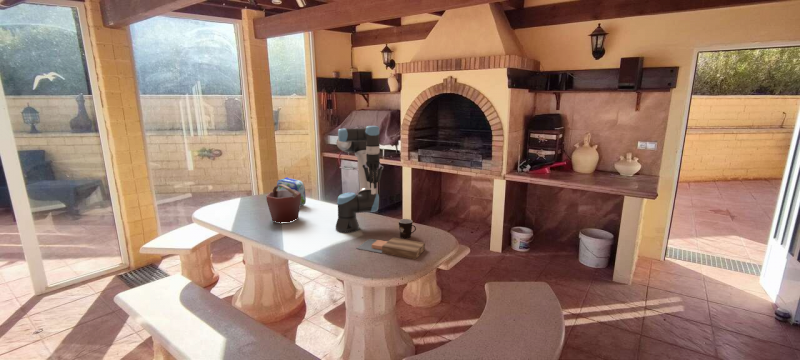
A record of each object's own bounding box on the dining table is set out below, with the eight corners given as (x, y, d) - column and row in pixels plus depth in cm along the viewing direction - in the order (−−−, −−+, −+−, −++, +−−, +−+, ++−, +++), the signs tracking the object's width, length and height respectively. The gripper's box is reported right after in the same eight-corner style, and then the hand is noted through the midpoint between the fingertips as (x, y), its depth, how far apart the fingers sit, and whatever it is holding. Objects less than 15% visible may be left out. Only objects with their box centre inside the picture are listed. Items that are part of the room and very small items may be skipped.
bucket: (306, 221, 263) (304, 186, 258) (273, 227, 251) (271, 190, 245) (294, 212, 283) (292, 179, 277) (263, 218, 271) (260, 183, 265)
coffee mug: (396, 235, 239) (396, 219, 236) (408, 233, 242) (409, 218, 240) (403, 241, 228) (403, 225, 226) (416, 239, 231) (417, 223, 229)
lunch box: (276, 203, 308) (274, 177, 303) (287, 200, 316) (285, 175, 311) (295, 209, 292) (294, 182, 287) (307, 206, 300) (306, 179, 295)
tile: (377, 243, 225) (377, 239, 224) (390, 245, 222) (390, 241, 221) (371, 248, 218) (371, 244, 217) (384, 250, 215) (384, 246, 214)
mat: (369, 239, 232) (369, 238, 232) (393, 243, 226) (393, 242, 225) (356, 248, 218) (356, 248, 218) (381, 253, 211) (381, 252, 211)
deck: (392, 243, 225) (392, 237, 224) (424, 249, 217) (425, 243, 216) (382, 252, 212) (382, 246, 211) (415, 259, 204) (415, 252, 203)
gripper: (359, 153, 216) (360, 194, 221) (380, 155, 211) (380, 196, 216) (366, 151, 223) (366, 191, 228) (386, 153, 218) (386, 193, 223)
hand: (373, 193), depth 222 cm, fingers closed
